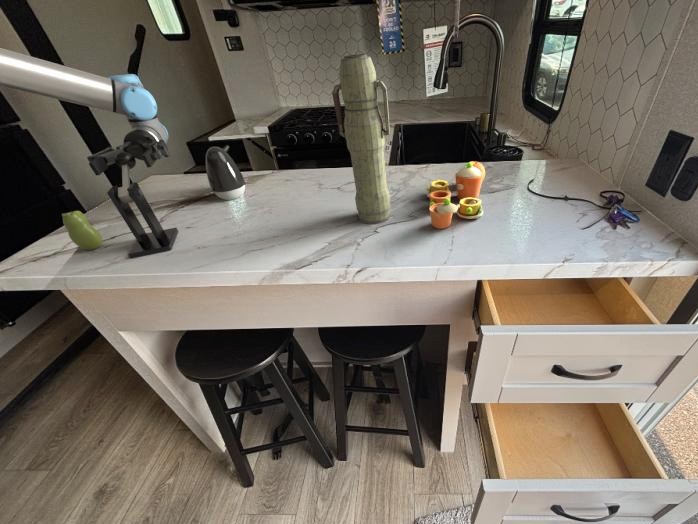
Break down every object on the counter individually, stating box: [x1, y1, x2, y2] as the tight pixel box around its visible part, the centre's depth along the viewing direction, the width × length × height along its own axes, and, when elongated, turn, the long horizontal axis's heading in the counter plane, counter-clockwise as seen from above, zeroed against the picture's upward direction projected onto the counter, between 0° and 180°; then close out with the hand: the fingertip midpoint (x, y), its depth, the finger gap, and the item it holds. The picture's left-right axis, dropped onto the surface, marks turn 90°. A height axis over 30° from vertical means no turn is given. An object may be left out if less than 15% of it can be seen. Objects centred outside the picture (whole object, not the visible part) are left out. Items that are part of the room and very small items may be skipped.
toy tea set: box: [425, 161, 484, 230], centre depth 87 cm, size 26×16×10 cm, turn 175°
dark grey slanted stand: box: [106, 181, 179, 259], centre depth 81 cm, size 11×9×15 cm
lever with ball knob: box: [115, 152, 137, 204], centre depth 80 cm, size 14×4×4 cm, turn 19°
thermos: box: [331, 53, 392, 225], centre depth 79 cm, size 9×12×35 cm
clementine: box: [463, 160, 486, 182], centre depth 100 cm, size 8×7×7 cm
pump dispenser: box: [205, 144, 246, 201], centre depth 104 cm, size 10×10×15 cm
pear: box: [61, 210, 103, 251], centre depth 83 cm, size 6×5×10 cm
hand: (120, 165), depth 79 cm, fingers open, 10 cm apart
